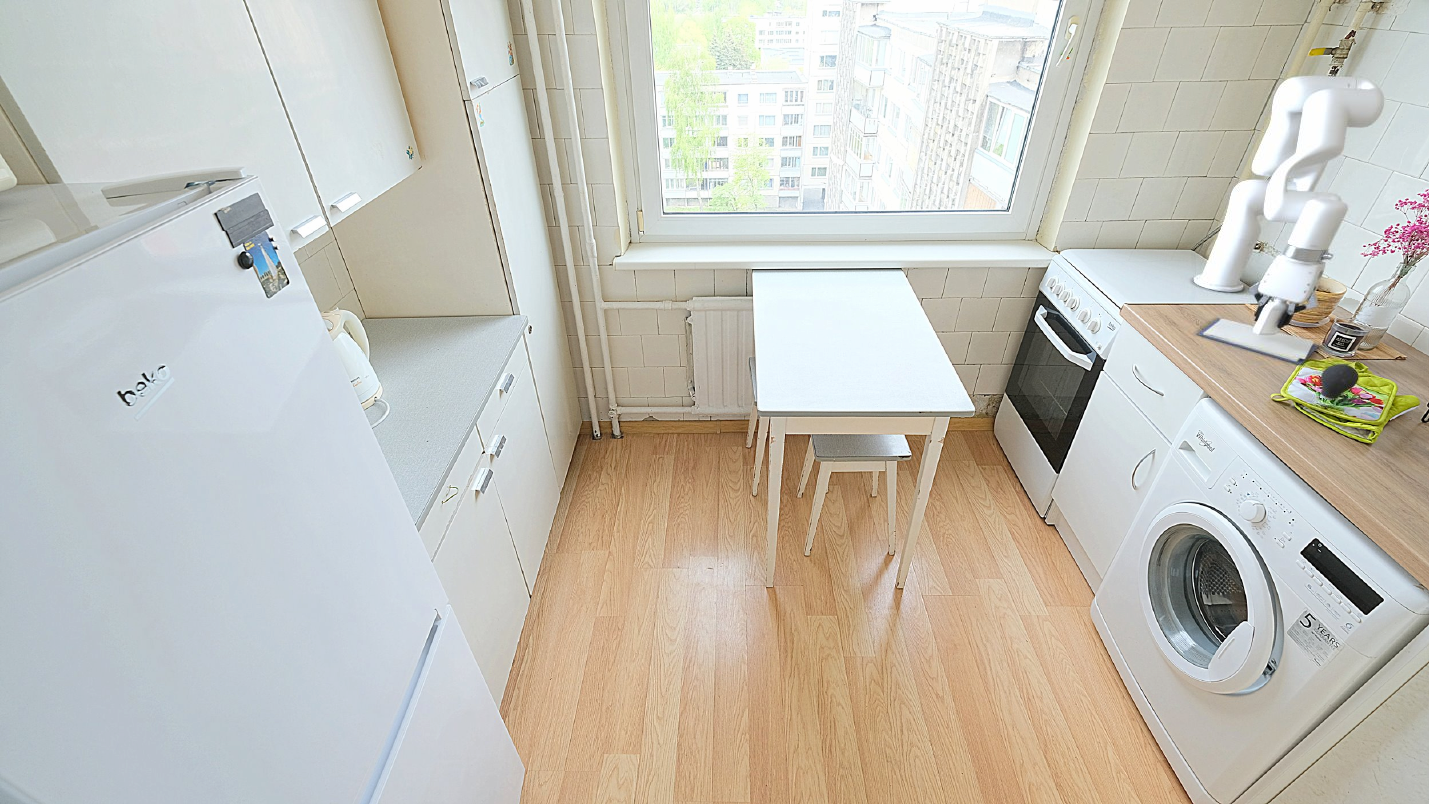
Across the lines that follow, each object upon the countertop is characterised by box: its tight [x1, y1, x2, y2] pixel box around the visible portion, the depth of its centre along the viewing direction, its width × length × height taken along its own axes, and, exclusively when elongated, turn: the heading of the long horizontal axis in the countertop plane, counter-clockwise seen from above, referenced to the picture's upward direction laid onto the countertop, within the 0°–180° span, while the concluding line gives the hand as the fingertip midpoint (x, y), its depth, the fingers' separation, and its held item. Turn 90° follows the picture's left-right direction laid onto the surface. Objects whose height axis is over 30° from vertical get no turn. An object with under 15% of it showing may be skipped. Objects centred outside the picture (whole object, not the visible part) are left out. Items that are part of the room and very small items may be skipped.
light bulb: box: [1316, 363, 1359, 408], centre depth 135 cm, size 6×6×10 cm
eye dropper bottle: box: [1253, 297, 1289, 336], centre depth 159 cm, size 4×6×12 cm
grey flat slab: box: [1196, 318, 1319, 366], centre depth 165 cm, size 16×22×1 cm
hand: (1269, 322), depth 161 cm, fingers closed on eye dropper bottle, 4 cm apart
